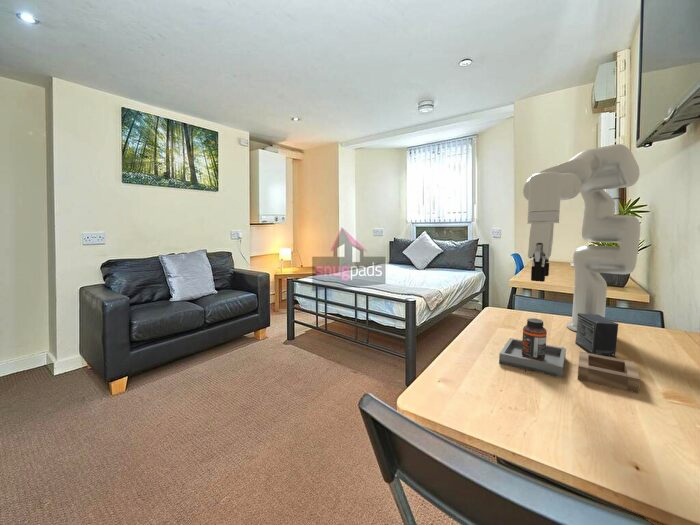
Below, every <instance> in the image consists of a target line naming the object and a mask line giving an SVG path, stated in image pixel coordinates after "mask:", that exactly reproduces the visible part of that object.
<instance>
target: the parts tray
mask: <svg viewBox="0 0 700 525" xmlns="http://www.w3.org/2000/svg"><path fill="white" fill-rule="evenodd" d="M566 352H567V348H565V347H560V346H554V345H550V344H546V351H545V359H544V360H542V361H539V360H534V359H530V358H525V357H523V356H522V339H518V338H513V337H510V338H509V339H508V340H507V341H506V343H505V344H504V346H503V348H502V349H501V351H499V355H498V356H499V357H498V358H499V359H498V361H499V362H498V364H501V365H504V366H510V367H514V368H517V369H522V370H526V371H531V372H534V373H539V374H543V375H547V376H552V377H555V378H560V379H563V374H564V369H565V363H566V362H565V361H566V354H567V353H566Z"/></svg>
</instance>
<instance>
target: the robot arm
mask: <svg viewBox="0 0 700 525" xmlns="http://www.w3.org/2000/svg"><path fill="white" fill-rule="evenodd" d="M639 178H640V167H639V165H638V161H637V160H636V158H635V156H634V155H633V153H632V151H631V149H630V148H629V147H627V146H626V145H624V144H619V143H617V144H611V145H604V146H600V147H599V146H598V147H594V148H589V149H586V150H582V151H581V152H579V153H577V154H576V155H574V156H573V157H572V158H570V159H568V160H567V161H564V162H562V163H559V164H556V165H554V166H551V167H548V168H545V169H543V170H540V171H538V172H536V173H534V174H532V175H530V177H528V179H527V180H526V181H525V184H524V185H523V188H522V189H523V190H522V194H523V196H524V199H525V200H526V201H528V203H527V221H526V222H527V224H529V225H530V228H529V237H528V250H527V258H528V259H529V260H531V259H532V263H531V264H532V266H531V267H530V268H531V272H530V274H531V275H530V280H531V282H541V283H544V282H545V280H546V277H549V274H550V262H549V261H550V259H549V258H551V256H552V250H553V243H554V227H555V226H554V224H559V223H560V213H561V212H560V208H561V201H568V200H571V199H575V198H576V197H577V196H578V195H579V194H581V197H582V199H583V202H584V210H583V219H582V227H581V237H582V239H583V240H584V241H586V242H589V243H590V242H591V243H614V244H615V243H617V244H619V246H609V245H608V246H607V245H584V246H583V245H582V246H580V247H578V248H576V249H575V250H574V252H573V256H572V261H573V268H574V283H573V284H574V285H573V286H574V287H573V299H572V300H573V301H572V312H571V313H572V314H571V315H572V317H571V321H568V322H567V323H566V327H567V328H568V329H569V330H571V331H574V332H577V322H578V313H581V314H596V315H600V316H602V317H604V318H606V317H605V314H606V303H607V302H606V301H607V293H608V292H607V291H608V284H607V282H606V280H605V278H604V277H603V275H601V274H602V273H603V274H612V275H614V274H615V275H629V274H632V273H633V272H634V270H635V269H636V266H637V260H638V253H639V244H640V238H641V224H640V219H638V217H637V216H634V215H630V214H629V215H627V214H626V215H623V214H621V215H615V206H616V205H615V204H616V202H615V200H614V198H613V197H612V196H611V195H610V194H609V193H608V192H607V191H606V190H612V189H623V188H628V187H632V186H634V185H635V184H636V183H637V182H638V181H639Z"/></svg>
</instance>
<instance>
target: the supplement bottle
mask: <svg viewBox="0 0 700 525" xmlns="http://www.w3.org/2000/svg"><path fill="white" fill-rule="evenodd" d="M547 332H548V331H547V329H546V328H545V327H544V320H542V319H539V318H533V317H532V318H528V319H527V320H526V325H523V328H522V339H521V340H522V356H523V357H525V358H530V359H534V360H539V361H542V360H544V359H545V351H546V345H547Z"/></svg>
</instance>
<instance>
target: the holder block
mask: <svg viewBox="0 0 700 525" xmlns="http://www.w3.org/2000/svg"><path fill="white" fill-rule="evenodd" d="M577 369H578V370H577V380H579V381H585V382H588V383H593V384H598V385H602V386H605V387H609V388H614V389H617V390H623V391H627V392H631V393H635V394H639V393H640V383H641V378H640V375H639V372H638V368H637V366H636V363H635V361H633V360H626V359H621V358H616V357H607V356H601V355H596V354H591V353H588V352H587V351H586V352H584V351H579V354H578V368H577Z"/></svg>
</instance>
